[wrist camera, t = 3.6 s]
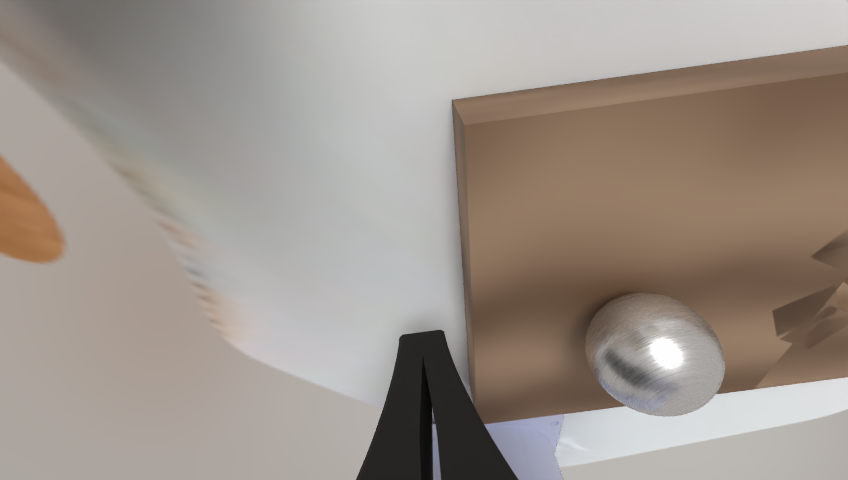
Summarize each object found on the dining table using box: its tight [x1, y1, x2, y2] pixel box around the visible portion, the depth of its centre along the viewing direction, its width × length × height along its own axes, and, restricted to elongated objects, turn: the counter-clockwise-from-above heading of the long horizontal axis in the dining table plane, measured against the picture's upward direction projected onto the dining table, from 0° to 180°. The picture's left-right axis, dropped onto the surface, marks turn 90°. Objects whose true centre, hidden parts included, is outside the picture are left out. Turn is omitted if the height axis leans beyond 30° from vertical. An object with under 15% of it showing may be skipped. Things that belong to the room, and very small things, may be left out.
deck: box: [452, 45, 848, 424], centre depth 13 cm, size 14×21×2 cm, turn 97°
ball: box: [585, 293, 725, 416], centre depth 11 cm, size 4×4×4 cm
